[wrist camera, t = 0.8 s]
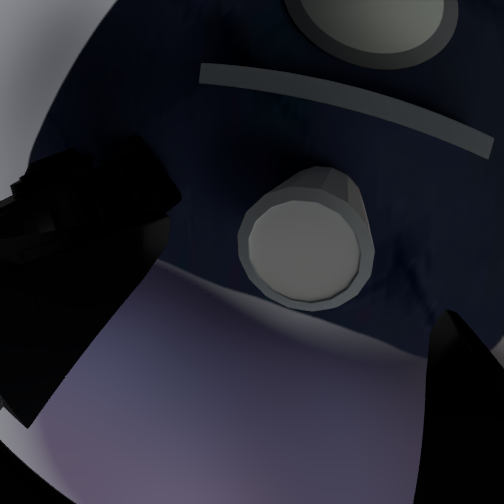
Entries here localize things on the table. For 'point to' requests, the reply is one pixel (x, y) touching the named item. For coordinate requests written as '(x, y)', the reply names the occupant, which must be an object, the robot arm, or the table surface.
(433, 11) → the grey round disc
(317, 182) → the shot glass
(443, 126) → the low wall
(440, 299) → the table surface
